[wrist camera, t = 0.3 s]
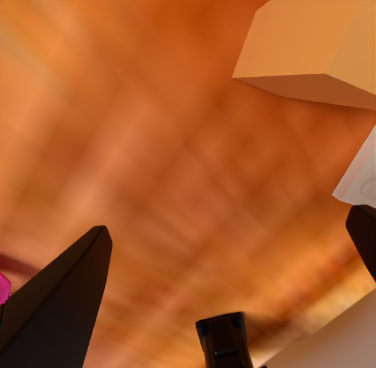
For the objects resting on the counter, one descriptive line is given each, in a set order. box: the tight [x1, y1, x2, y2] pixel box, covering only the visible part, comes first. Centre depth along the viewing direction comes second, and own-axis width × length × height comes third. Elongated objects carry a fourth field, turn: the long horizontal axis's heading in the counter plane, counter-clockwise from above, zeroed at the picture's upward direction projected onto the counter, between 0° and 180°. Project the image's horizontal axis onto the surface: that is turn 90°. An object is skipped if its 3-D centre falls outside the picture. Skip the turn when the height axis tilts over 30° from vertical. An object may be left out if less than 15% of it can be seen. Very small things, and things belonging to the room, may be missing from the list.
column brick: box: [232, 0, 376, 110], centre depth 13 cm, size 5×5×13 cm
